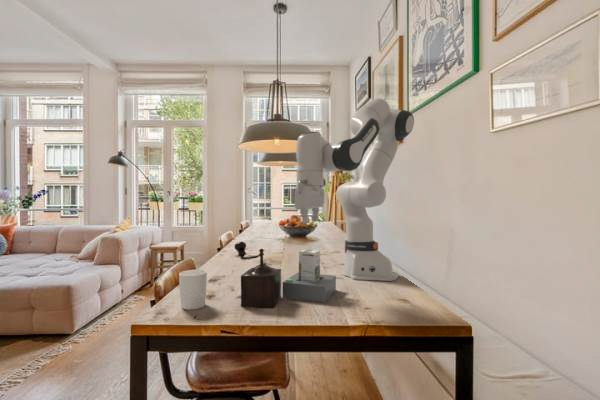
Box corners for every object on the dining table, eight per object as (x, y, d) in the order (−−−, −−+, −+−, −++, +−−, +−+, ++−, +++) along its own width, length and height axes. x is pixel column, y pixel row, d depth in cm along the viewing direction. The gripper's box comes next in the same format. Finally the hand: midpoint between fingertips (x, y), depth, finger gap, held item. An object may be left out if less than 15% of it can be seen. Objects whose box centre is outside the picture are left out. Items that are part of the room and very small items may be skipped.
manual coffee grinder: (282, 296, 101) (282, 241, 101) (274, 309, 90) (274, 246, 90) (237, 294, 104) (237, 240, 103) (223, 305, 93) (223, 245, 92)
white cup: (199, 299, 98) (199, 268, 98) (212, 305, 93) (211, 272, 92) (174, 305, 93) (174, 272, 93) (186, 312, 87) (186, 277, 87)
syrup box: (304, 290, 108) (304, 248, 108) (320, 292, 106) (320, 249, 105) (298, 295, 102) (298, 251, 102) (315, 297, 100) (315, 252, 100)
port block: (335, 290, 108) (335, 273, 108) (324, 302, 95) (324, 284, 95) (298, 286, 113) (298, 270, 113) (282, 297, 100) (282, 280, 100)
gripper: (308, 178, 93) (309, 225, 93) (327, 181, 112) (327, 219, 112) (289, 179, 95) (289, 224, 95) (310, 182, 114) (311, 219, 114)
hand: (310, 222), depth 104 cm, fingers open, 8 cm apart
